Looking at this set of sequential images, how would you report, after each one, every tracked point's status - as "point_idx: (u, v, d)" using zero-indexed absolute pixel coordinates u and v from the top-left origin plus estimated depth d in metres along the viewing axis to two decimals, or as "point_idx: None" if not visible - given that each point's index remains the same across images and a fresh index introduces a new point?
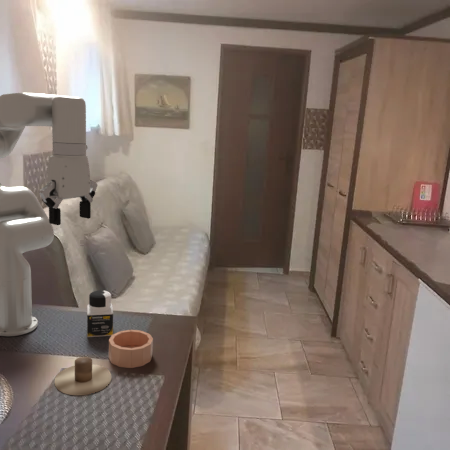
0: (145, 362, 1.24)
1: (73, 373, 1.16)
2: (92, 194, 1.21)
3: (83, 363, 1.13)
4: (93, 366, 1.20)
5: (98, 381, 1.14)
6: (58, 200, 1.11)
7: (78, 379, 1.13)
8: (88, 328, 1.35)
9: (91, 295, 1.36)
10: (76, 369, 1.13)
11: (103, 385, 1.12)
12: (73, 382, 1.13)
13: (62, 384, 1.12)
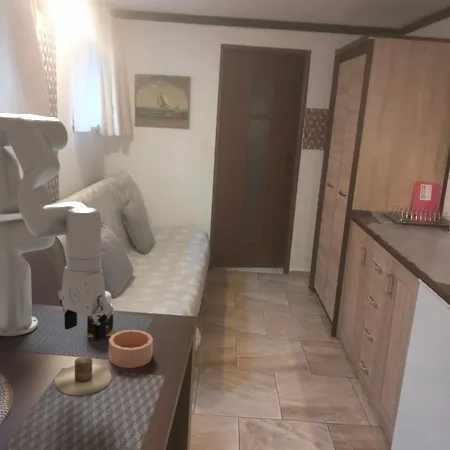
0: (145, 362, 1.24)
1: (73, 373, 1.16)
2: None
3: (83, 363, 1.13)
4: (93, 366, 1.20)
5: (98, 381, 1.14)
6: None
7: (78, 379, 1.13)
8: (88, 328, 1.35)
9: None
10: (76, 369, 1.13)
11: (103, 385, 1.12)
12: (73, 382, 1.13)
13: (62, 384, 1.12)
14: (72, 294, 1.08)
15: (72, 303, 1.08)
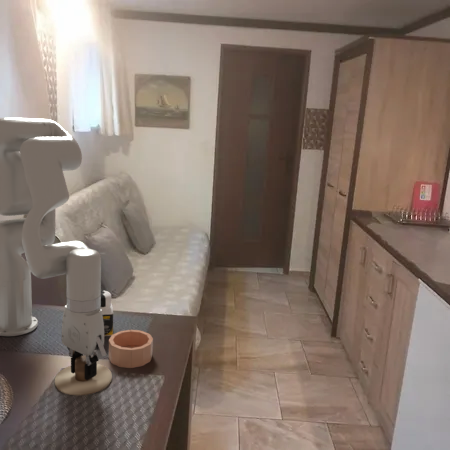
0: (145, 362, 1.24)
1: None
2: None
3: (83, 362, 1.13)
4: None
5: (99, 380, 1.14)
6: None
7: (78, 378, 1.13)
8: None
9: None
10: (76, 368, 1.12)
11: (103, 384, 1.12)
12: (73, 381, 1.13)
13: (62, 383, 1.12)
14: (72, 333, 1.10)
15: (72, 341, 1.10)
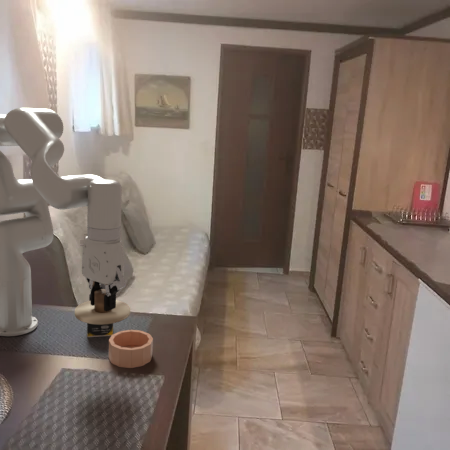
0: (145, 362, 1.24)
1: None
2: None
3: (102, 293, 1.14)
4: None
5: (118, 313, 1.14)
6: None
7: (98, 309, 1.14)
8: (88, 328, 1.35)
9: None
10: (96, 299, 1.13)
11: (122, 315, 1.13)
12: (93, 312, 1.14)
13: (82, 313, 1.13)
14: (92, 263, 1.11)
15: (92, 272, 1.11)
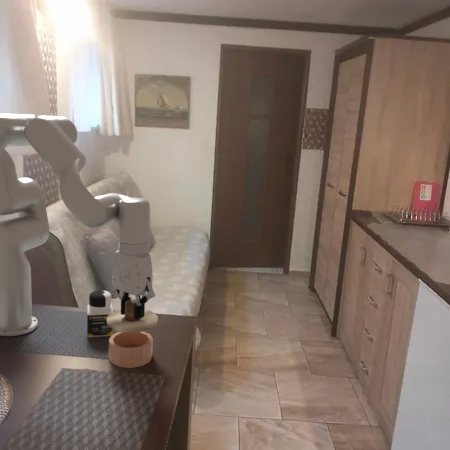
0: (145, 362, 1.24)
1: None
2: None
3: (132, 303, 1.22)
4: None
5: (147, 321, 1.23)
6: None
7: (128, 318, 1.22)
8: (88, 328, 1.35)
9: (91, 295, 1.36)
10: (126, 309, 1.22)
11: (151, 323, 1.22)
12: (124, 321, 1.22)
13: (114, 322, 1.21)
14: (123, 276, 1.20)
15: (123, 283, 1.20)
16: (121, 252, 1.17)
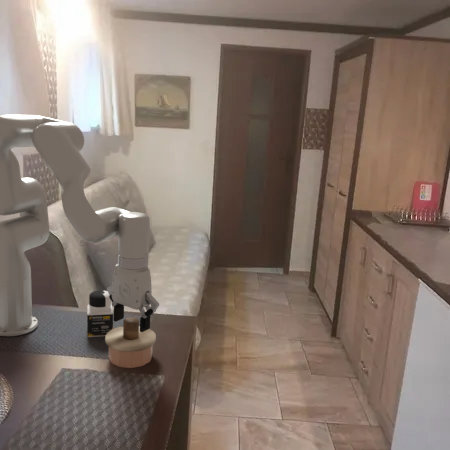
0: (145, 362, 1.24)
1: (121, 332, 1.27)
2: None
3: (131, 322, 1.23)
4: None
5: (145, 339, 1.24)
6: None
7: (127, 337, 1.24)
8: (88, 328, 1.35)
9: (91, 295, 1.36)
10: (125, 328, 1.23)
11: (150, 342, 1.23)
12: (122, 339, 1.23)
13: (113, 341, 1.22)
14: (122, 289, 1.20)
15: (122, 297, 1.21)
16: (121, 266, 1.18)
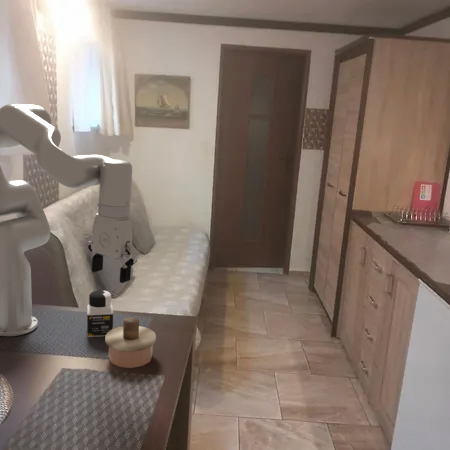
0: (145, 362, 1.24)
1: (121, 332, 1.27)
2: None
3: (131, 322, 1.23)
4: None
5: (145, 339, 1.24)
6: None
7: (127, 337, 1.24)
8: (88, 328, 1.35)
9: (91, 295, 1.36)
10: (125, 328, 1.23)
11: (150, 342, 1.23)
12: (122, 339, 1.23)
13: (113, 341, 1.22)
14: (102, 239, 1.17)
15: (102, 247, 1.18)
16: (101, 214, 1.15)
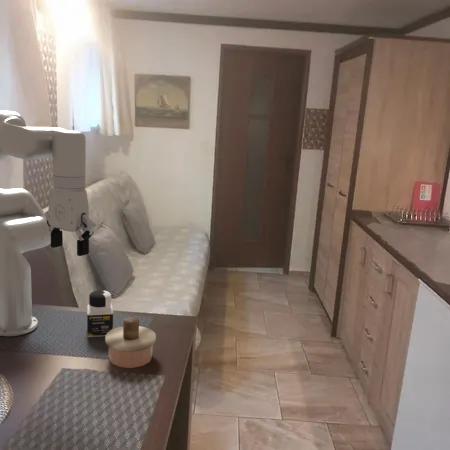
0: (145, 362, 1.24)
1: (121, 332, 1.27)
2: None
3: (131, 322, 1.23)
4: None
5: (145, 339, 1.24)
6: None
7: (127, 337, 1.24)
8: (88, 328, 1.35)
9: (91, 295, 1.36)
10: (125, 328, 1.23)
11: (150, 342, 1.23)
12: (122, 339, 1.23)
13: (113, 341, 1.22)
14: (58, 211, 1.15)
15: (58, 220, 1.16)
16: (55, 186, 1.13)
